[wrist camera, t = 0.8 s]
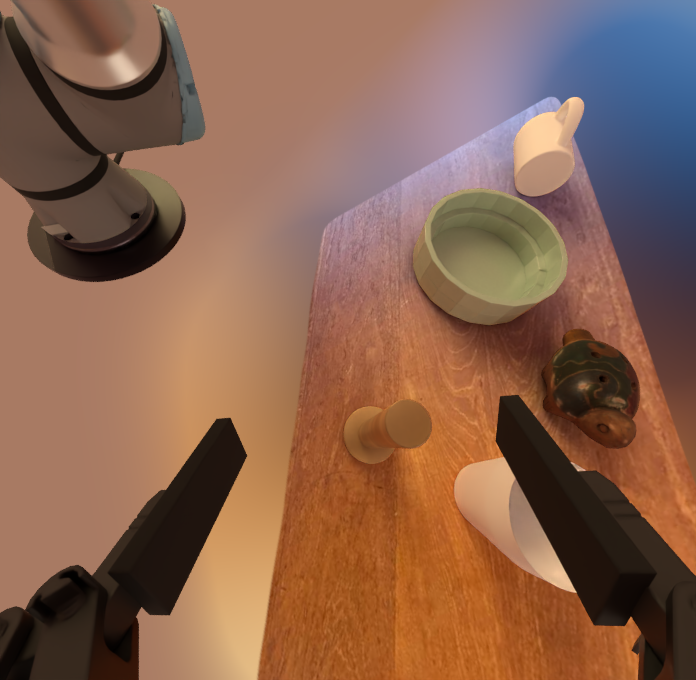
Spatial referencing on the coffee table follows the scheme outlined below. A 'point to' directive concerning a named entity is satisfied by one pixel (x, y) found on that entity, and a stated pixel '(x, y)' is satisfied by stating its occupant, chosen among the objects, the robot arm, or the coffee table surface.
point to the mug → (546, 149)
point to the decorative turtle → (593, 389)
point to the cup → (508, 518)
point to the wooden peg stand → (386, 430)
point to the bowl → (488, 256)
